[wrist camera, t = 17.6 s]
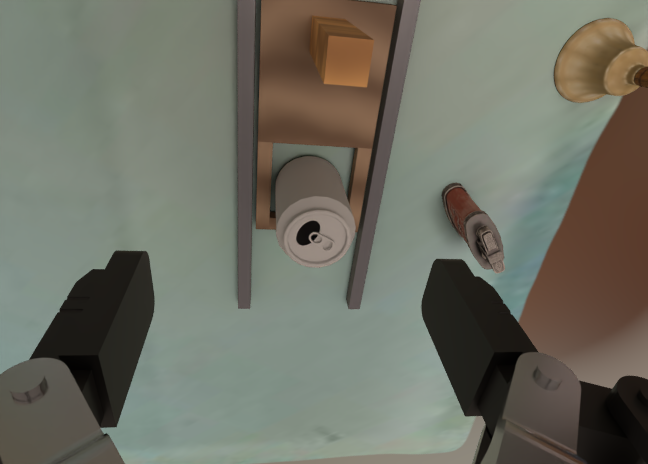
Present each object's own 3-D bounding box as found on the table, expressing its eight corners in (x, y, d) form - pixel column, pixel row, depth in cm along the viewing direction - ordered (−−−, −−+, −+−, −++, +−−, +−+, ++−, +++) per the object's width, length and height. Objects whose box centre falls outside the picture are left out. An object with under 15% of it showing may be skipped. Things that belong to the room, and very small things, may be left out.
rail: (356, 299, 58) (359, 309, 57) (239, 298, 56) (238, 308, 54) (417, -19, 38) (424, -18, 37) (238, -41, 36) (237, -41, 34)
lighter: (481, 226, 54) (520, 275, 46) (456, 238, 55) (490, 288, 46) (462, 177, 50) (501, 220, 42) (436, 191, 51) (469, 236, 42)
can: (297, 140, 45) (304, 190, 35) (353, 173, 48) (375, 228, 38) (262, 194, 48) (261, 255, 38) (317, 222, 51) (329, 285, 41)
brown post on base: (355, 225, 52) (380, 302, 40) (256, 222, 50) (252, 301, 38) (392, 4, 39) (445, 21, 27) (261, -11, 37) (258, 1, 26)
